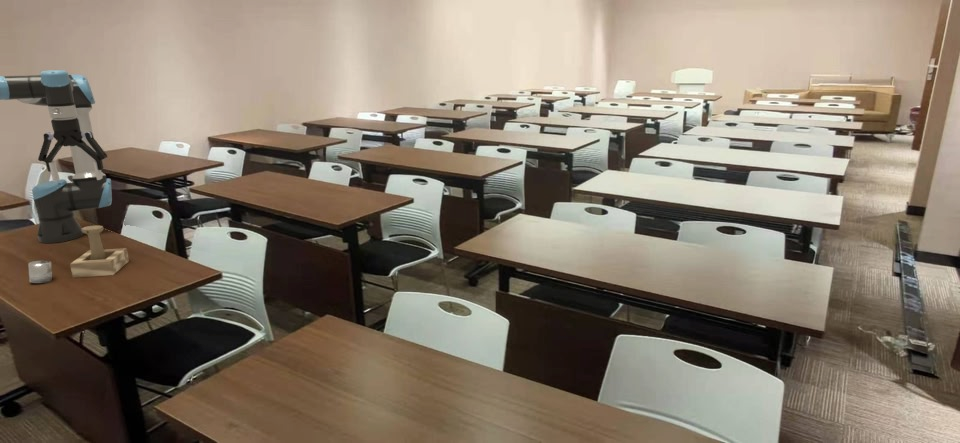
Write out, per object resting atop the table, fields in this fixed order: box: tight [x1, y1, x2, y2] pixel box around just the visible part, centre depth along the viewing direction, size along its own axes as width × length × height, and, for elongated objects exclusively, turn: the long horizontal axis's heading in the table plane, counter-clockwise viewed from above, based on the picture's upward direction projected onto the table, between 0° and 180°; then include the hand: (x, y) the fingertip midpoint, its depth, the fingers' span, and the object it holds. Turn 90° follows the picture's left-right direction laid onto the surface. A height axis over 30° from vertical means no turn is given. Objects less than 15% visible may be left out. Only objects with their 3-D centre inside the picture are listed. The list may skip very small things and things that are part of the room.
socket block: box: [69, 247, 130, 279], centre depth 199 cm, size 14×12×5 cm
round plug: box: [27, 260, 53, 284], centre depth 189 cm, size 6×6×6 cm
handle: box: [81, 225, 106, 260], centre depth 198 cm, size 5×6×15 cm
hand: (78, 180), depth 196 cm, fingers open, 13 cm apart
